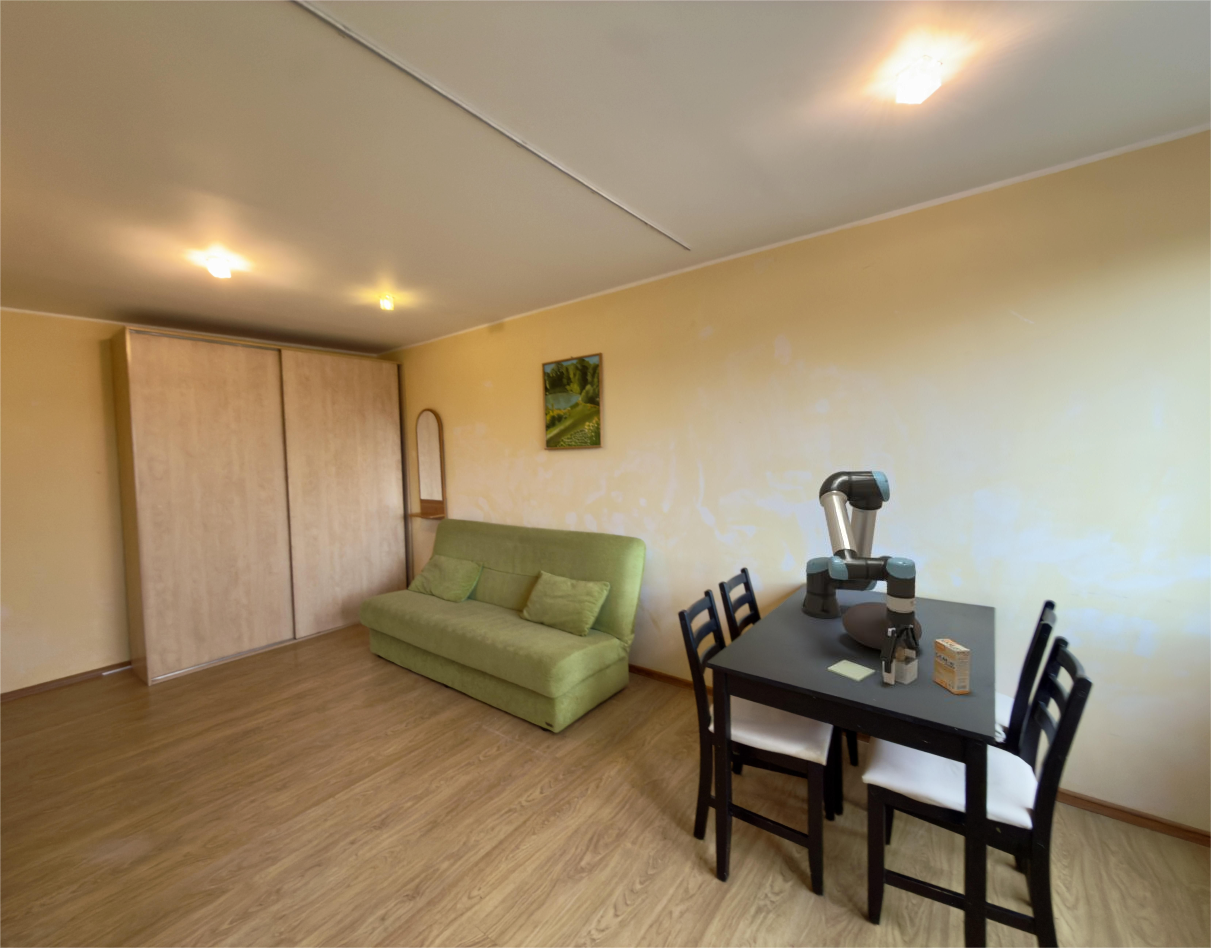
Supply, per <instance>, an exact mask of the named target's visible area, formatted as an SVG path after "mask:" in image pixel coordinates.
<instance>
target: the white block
mask: <svg viewBox="0 0 1211 948" xmlns="http://www.w3.org/2000/svg"><path fill="white" fill-rule="evenodd" d="M895 656H896V655H895ZM918 661H919V660H918V658H916V657H915V658H913V657H910V656H907V655H905V662H902V661H899V660H896V659H895V657H894V660H893V662H894V663H895V670H894V682H898V683H901V684H904V685H908V684H910V683H911V682H913V681H914V680H917V679H918ZM882 677H884V661H882Z"/></svg>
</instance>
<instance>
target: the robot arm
mask: <svg viewBox="0 0 1211 948" xmlns="http://www.w3.org/2000/svg"><path fill="white" fill-rule="evenodd" d="M890 495H891V490H890V485H889V480H888V477H887V475H886V474H885V472H883V471H879V470H877V471H876V470H862V471H861V470H859V471H856V470H855V471H850V470H849V471H846V470H843V471H842V470H840V471H836V472H834V473H832V474H830V475H829V476H828V477H827V478H825V480H824V481H823V482H822V484H821V486H820V488H819V493H818V498H819V499H818V500H819V504H820V506H821V507H822V508H823V510H824V511H823V512H824V514H825V515H824V516H825V521H826V526H827V531H828V536H829V540H830V545H831V546H830V547H831V550H832V556H829V557H828V556H821V557H814V558H811V559H808V561H807V563H806V568H805V574H806V576H805V578H806V585H805V586H806V588H805V589H806V594H805V596H804V599H803V601H802V604H801V611H802V613H803V614H805V615H807V616H810V617H813V618H818V619H835V618H836V619H837V618H839V617H840V616H841V608H840V605H839V601H838V598H837V590H840V591H859V592H869V591H873V590H875V588H876V587H877V584H878V582H886V599H885V600H886V602H885V603H886V606H887V607H888V608H887V609H886V618H887V620H888V621H890V622H891V624H892V625H891V629H889V628H886V630H885V638H884V642H883V647H882V650H880V651H881V652H880V657H879V661H881V662H883V661H884V676H883V682H884V683H887V684H890V685H894V684H895V680H894V670H895V663H894V662H893V660H894V657H895V655H896V652H897V649H898V646H899V644H901V643H902V640H903V641H904V643H905V645H906V647H907V648H906V649H905V655H907V656H910V657H913V658H916V651H917V652H919V650H920V642H919V641H920V640H919V641H918V637H917V633H916V629H915V618H916V611H915V608H916V605H917V602H916V575H917V571H916V562H915V561H914V560H913V559H910V558H906V557H896V556H895V557H893V556H890V555H886V554H885V555H880V556H877V557H872V549H873V543H874V542H873V541H874V535H875V529H876V528H875V527H876V522H877V521H876V520H877V514H878V513H877V512H878V511H879V510H880V509H882V507H883V503H886V502H888V501H889V500H890ZM847 503H848V504H849V506H850V507H852V509H851V519H850V518H849V517H850V516H849V512H848V508H847ZM914 641H915V642H914Z"/></svg>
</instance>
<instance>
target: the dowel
mask: <svg viewBox="0 0 1211 948" xmlns="http://www.w3.org/2000/svg"><path fill="white" fill-rule="evenodd" d="M895 659H896V660H899V661H902V662H905V649H904V648H902V647H898V649H897V652H896V656H895Z"/></svg>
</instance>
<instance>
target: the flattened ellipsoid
mask: <svg viewBox="0 0 1211 948" xmlns="http://www.w3.org/2000/svg"><path fill="white" fill-rule="evenodd" d="M887 608H888V607H887V606H886V602H879V601H865V602H861V603H857V604H854V605H852V606H851V607H849V608H847V610H846V611H844V613H843V615H842V619H841V621H842V628H844V630H845V632H846V633H847V634H848V635H849V636H850V637H851V638H852V639H853V640H855V641H856V642H858V643H860V644H862V645H864V646H867V647H869V648H872V649H875V650H880V651H882V647H883V642H884V638H885V630H886V628H889V629H891V625H892V624H891V622H890V621H888V620H887V618H886V609H887ZM915 629H916V633H917V637H918V641H920V640H921V637H922V635H923V631H922V630H923V629H922V626H921V623H920V622H919V620H918V618H916V617H915ZM914 642H915V641H914ZM898 647H902V648H904V649H906V648H907V647H906V645H905V643H904V641H903V640H902V643H901V644H899V646H898ZM907 649H908V648H907Z"/></svg>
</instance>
